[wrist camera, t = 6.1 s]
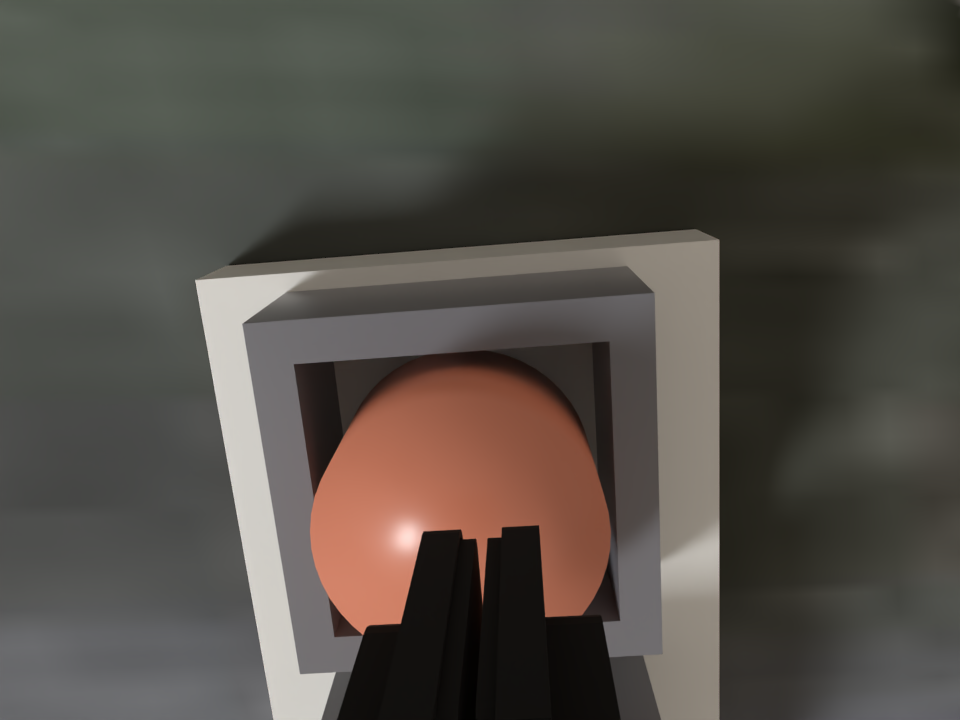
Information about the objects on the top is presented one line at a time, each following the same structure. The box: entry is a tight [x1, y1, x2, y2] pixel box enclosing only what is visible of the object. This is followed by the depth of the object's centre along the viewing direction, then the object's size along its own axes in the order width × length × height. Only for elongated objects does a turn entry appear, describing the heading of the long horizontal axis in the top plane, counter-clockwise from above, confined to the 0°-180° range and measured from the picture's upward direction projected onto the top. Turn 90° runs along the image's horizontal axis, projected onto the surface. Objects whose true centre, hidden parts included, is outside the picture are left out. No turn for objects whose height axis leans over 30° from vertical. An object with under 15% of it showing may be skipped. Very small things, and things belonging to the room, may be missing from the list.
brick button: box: [310, 350, 611, 634], centre depth 15 cm, size 5×5×3 cm
